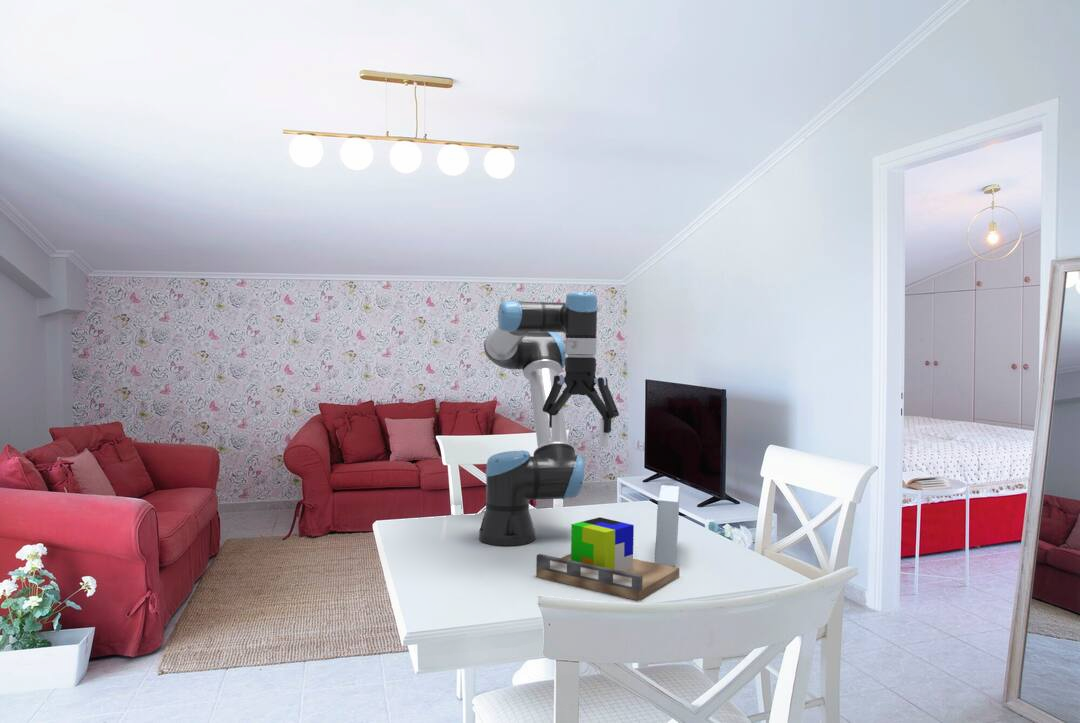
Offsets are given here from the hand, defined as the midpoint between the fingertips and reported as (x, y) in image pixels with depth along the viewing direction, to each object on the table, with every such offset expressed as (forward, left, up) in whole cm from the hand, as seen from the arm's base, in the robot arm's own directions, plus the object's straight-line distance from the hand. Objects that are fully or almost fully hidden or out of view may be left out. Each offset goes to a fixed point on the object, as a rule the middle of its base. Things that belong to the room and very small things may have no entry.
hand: (579, 444), depth 179 cm
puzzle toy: (+11, -7, -27) cm, 30 cm away
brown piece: (+12, -6, -29) cm, 32 cm away
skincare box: (+15, +19, -29) cm, 38 cm away
